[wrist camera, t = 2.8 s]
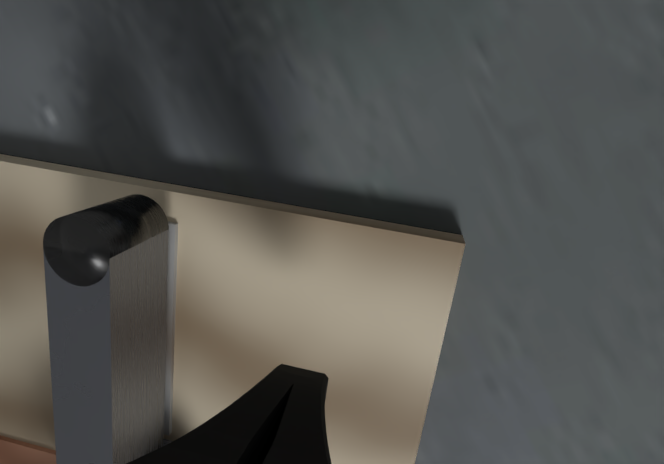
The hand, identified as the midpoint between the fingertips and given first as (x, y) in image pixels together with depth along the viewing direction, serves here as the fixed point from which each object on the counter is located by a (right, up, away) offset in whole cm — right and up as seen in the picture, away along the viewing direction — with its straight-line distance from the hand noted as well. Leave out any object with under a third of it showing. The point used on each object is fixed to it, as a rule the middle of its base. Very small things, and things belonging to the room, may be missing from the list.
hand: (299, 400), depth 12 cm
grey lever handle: (-6, -2, +6) cm, 9 cm away
